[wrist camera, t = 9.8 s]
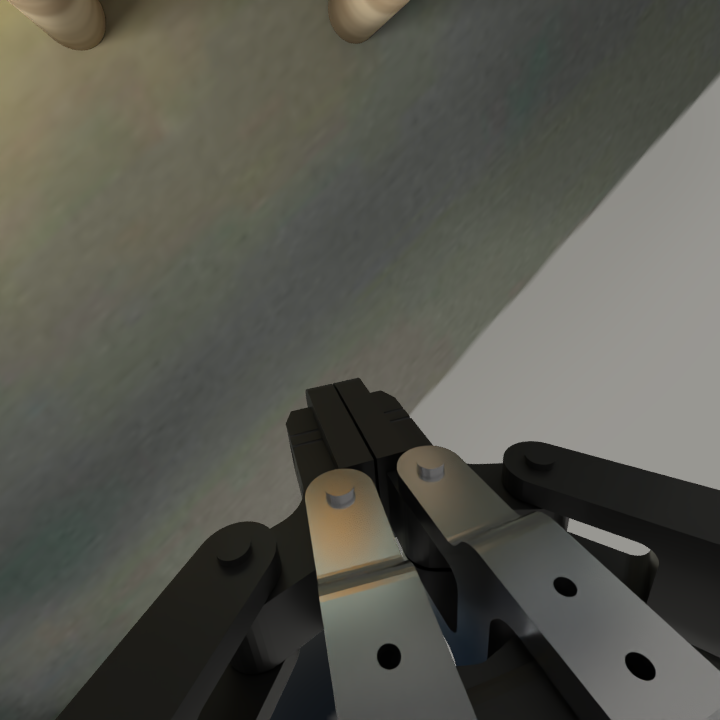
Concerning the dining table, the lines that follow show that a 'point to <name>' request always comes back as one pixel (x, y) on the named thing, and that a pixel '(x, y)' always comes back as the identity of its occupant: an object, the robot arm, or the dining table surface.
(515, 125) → the dining table surface
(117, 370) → the dining table surface
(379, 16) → the post right
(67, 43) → the post left
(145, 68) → the dining table surface
